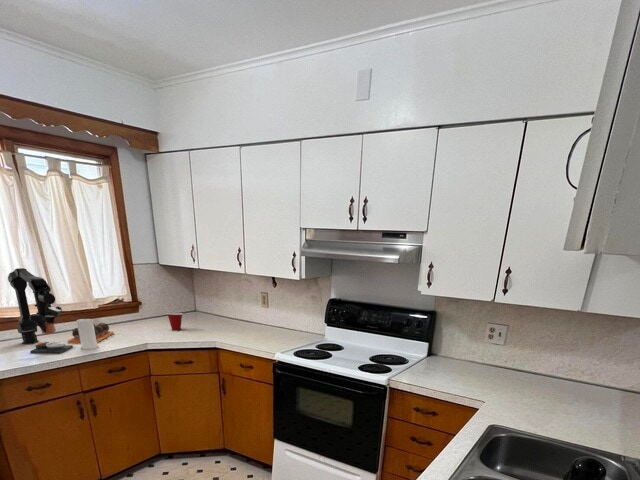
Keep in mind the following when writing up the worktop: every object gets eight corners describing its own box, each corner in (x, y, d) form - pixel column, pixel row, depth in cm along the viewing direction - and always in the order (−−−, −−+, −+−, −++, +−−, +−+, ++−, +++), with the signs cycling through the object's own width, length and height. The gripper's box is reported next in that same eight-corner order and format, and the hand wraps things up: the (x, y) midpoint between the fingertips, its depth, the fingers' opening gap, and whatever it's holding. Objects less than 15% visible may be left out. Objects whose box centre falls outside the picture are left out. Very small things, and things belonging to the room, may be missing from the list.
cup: (91, 349, 245) (85, 321, 239) (78, 348, 247) (72, 320, 241) (100, 346, 253) (95, 319, 247) (88, 345, 254) (83, 318, 248)
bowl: (39, 334, 234) (37, 324, 232) (46, 331, 240) (44, 322, 238) (51, 334, 234) (49, 325, 232) (58, 331, 240) (56, 322, 238)
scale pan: (34, 347, 235) (33, 346, 235) (44, 342, 245) (44, 341, 245) (60, 347, 236) (60, 346, 236) (69, 343, 246) (69, 342, 246)
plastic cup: (187, 329, 304) (186, 312, 300) (175, 332, 296) (173, 314, 291) (177, 327, 310) (175, 310, 305) (165, 329, 301) (163, 312, 296)
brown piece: (88, 333, 283) (85, 320, 280) (113, 333, 285) (111, 321, 282) (68, 343, 258) (65, 329, 254) (96, 343, 259) (93, 329, 256)
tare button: (37, 346, 239) (37, 343, 238) (40, 345, 241) (39, 342, 240) (42, 346, 239) (41, 343, 238) (45, 345, 241) (44, 342, 241)
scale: (30, 353, 234) (28, 348, 233) (44, 347, 247) (43, 342, 246) (60, 353, 235) (59, 348, 234) (73, 347, 248) (72, 342, 247)
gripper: (47, 305, 222) (54, 334, 228) (66, 300, 240) (71, 328, 246) (25, 304, 222) (33, 334, 228) (45, 300, 239) (51, 327, 245)
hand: (48, 331), depth 237 cm, fingers closed on bowl, 7 cm apart
